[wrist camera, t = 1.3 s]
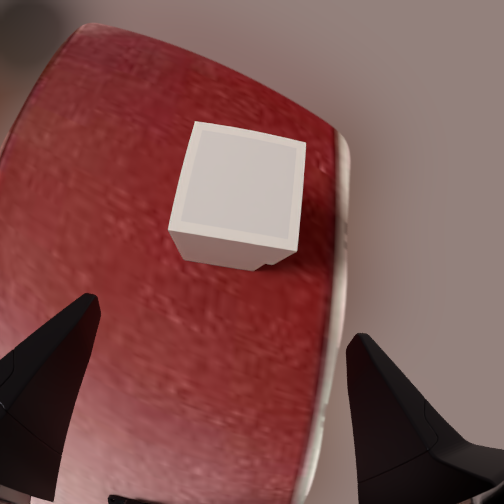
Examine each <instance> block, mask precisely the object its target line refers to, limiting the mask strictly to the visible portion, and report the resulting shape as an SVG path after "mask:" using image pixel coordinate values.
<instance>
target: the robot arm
mask: <svg viewBox="0 0 504 504" xmlns="http://www.w3.org/2000/svg"><path fill="white" fill-rule="evenodd" d="M100 317H101V311H100V306H99V301H98V297H97V296H96V295H94V294H90V293H85V294H83V295H82V296H80V297H79V298H78V299H76V300H75V301H74V302H72V303H71V304H70V305H68V306H67V307H66V308H64V309H63V310H62V311H60V312H59V313H58V314H56V315H55V316H54V317H53V318H51V319H50V320H49V321H47V322H46V323H45V324H44V325H42V326H41V327H40V328H39V329H37V330H36V331H35V332H34V333H32V334H31V335H30V336H29V337H27V338H26V339H25V340H24V341H22V342H21V343H20V344H19V345H18V346H16V347H15V348H14V350H12V351H10V352H9V353H8V354H7V355H6V356H4V357H3V358H2V359H1V360H0V504H30V500H31V496H33V497H36V498H40V499H43V500H47V501H51V502H53V501H54V496H55V489H56V483H57V478H58V472H59V467H60V462H61V457H62V456H61V455H62V452H63V448H64V443H65V439H66V435H67V431H68V427H69V423H70V420H71V416H72V413H73V409H74V406H75V402H76V399H77V396H78V392H79V389H80V386H81V383H82V380H83V377H84V374H85V371H86V368H87V365H88V362H89V359H90V356H91V352H92V348H93V344H94V340H95V336H96V332H97V329H98V325H99V321H100ZM346 364H347V386H348V395H349V402H350V409H351V418H352V426H353V436H354V444H355V456H356V467H357V481H358V500H359V504H504V450H502V449H496V448H489V447H484V446H479V445H475V444H472V443H470V442H468V441H466V440H465V439H464V438H463V437H462V436H461V435H460V434H459V433H458V432H456V431H455V430H454V428H452V427H451V426H450V425H449V424H448V423H447V422H446V421H445V420H444V419H443V418H442V417H441V415H440V414H438V412H437V411H436V410H435V409H434V408H433V407H432V406H431V405H430V403H429V402H428V401H427V400H426V399H425V398H424V396H423V395H422V394H421V393H420V392H419V391H418V390H417V388H416V387H415V386H414V385H413V384H412V383H411V382H410V380H409V379H408V378H407V377H406V376H405V375H404V374H403V373H402V371H401V370H400V369H399V368H398V367H397V366H396V365H395V364H394V362H393V361H392V360H391V359H390V358H389V357H388V356H387V355H386V354H385V352H384V351H383V350H382V349H381V348H380V347H379V346H378V345H377V344H376V342H375V341H374V340H373V339H372V338H371V337H370V336H369V335H368V334H365V333H357V334H356V335H355V336H354V338H353V339H352V341H351V342H350V343H349V345H348V346H347V349H346ZM113 499H114V500H113ZM108 504H146V503H142V502H137V501H133V500H129V499H125V498H122V497H118V496H114V495H109V497H108Z"/></svg>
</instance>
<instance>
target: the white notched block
mask: <svg viewBox="0 0 504 504" xmlns="http://www.w3.org/2000/svg"><path fill="white" fill-rule="evenodd" d="M305 151H306V143H304V142H300V141H296V140H292V139H288V138H284V137H279V136H275V135H270V134H266V133H261V132H256V131H251V130H246V129H240V128H235V127H229V126H223V125H217V124H210V123H203V122H196V121H195V124H194V127H193V131H192V134H191V137H190V141H189V145H188V148H187V152H186V156H185V159H184V163H183V167H182V171H181V175H180V179H179V183H178V187H177V191H176V195H175V200H174V204H173V209H172V213H171V218H170V222H169V227H168V231H169V233H170V235H171V237H172V239H173V241H174V243H175V245H176V246H177V248H178V250H179V252H180V254H181V256H182V258H183V260H187V261H193V262H199V263H205V264H211V265H217V266H223V267H230V268H236V269H242V270H249V271H255V270H256V269H258V268H259V267H261V266H262V265H264V264H270V265H274V264H275V263H277V262H279V261H281V260H283V259H284V258H286V257H288V256H290V255H291V254H293V253H295V252H297V247H298V237H299V227H300V216H301V204H302V192H303V180H304V166H305Z"/></svg>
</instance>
